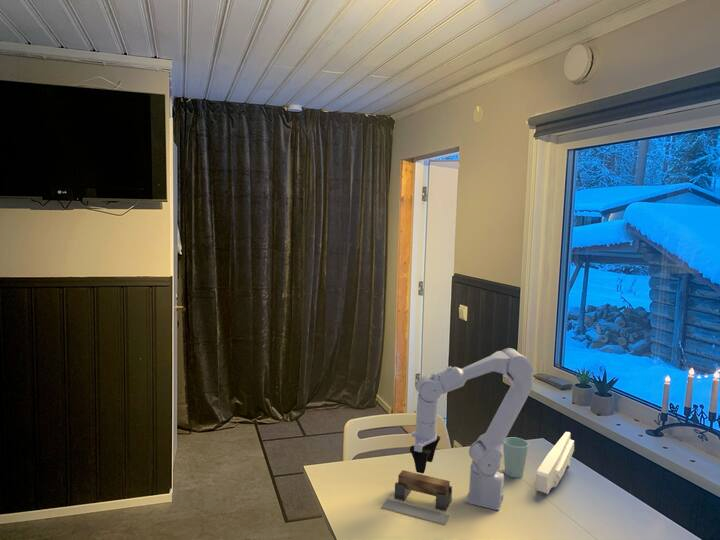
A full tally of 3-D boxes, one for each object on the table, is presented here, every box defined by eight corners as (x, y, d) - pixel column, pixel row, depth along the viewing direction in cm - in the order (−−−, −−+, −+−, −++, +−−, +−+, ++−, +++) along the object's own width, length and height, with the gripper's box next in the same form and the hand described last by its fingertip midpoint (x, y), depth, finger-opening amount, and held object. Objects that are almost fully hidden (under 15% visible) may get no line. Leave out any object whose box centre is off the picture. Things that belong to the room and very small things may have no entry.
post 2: (451, 501, 153) (452, 486, 152) (445, 511, 147) (446, 496, 147) (441, 498, 154) (441, 483, 154) (435, 509, 149) (436, 493, 148)
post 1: (411, 491, 158) (411, 476, 157) (404, 501, 152) (405, 485, 152) (401, 489, 159) (402, 474, 158) (394, 498, 153) (394, 483, 153)
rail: (449, 493, 152) (449, 481, 151) (445, 498, 148) (446, 486, 148) (402, 481, 157) (402, 470, 157) (397, 486, 154) (398, 475, 154)
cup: (521, 467, 175) (523, 437, 174) (530, 479, 167) (532, 447, 166) (498, 467, 175) (500, 436, 174) (506, 479, 167) (508, 447, 166)
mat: (449, 515, 145) (449, 514, 145) (445, 525, 141) (445, 524, 141) (387, 499, 153) (387, 498, 153) (380, 508, 148) (381, 507, 148)
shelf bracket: (576, 468, 177) (577, 434, 173) (550, 514, 158) (551, 477, 155) (559, 463, 180) (559, 429, 177) (532, 507, 161) (532, 471, 158)
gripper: (420, 409, 159) (418, 453, 160) (404, 426, 146) (402, 474, 147) (444, 413, 156) (441, 458, 157) (429, 431, 143) (427, 480, 144)
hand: (424, 466), depth 152 cm, fingers open, 7 cm apart
